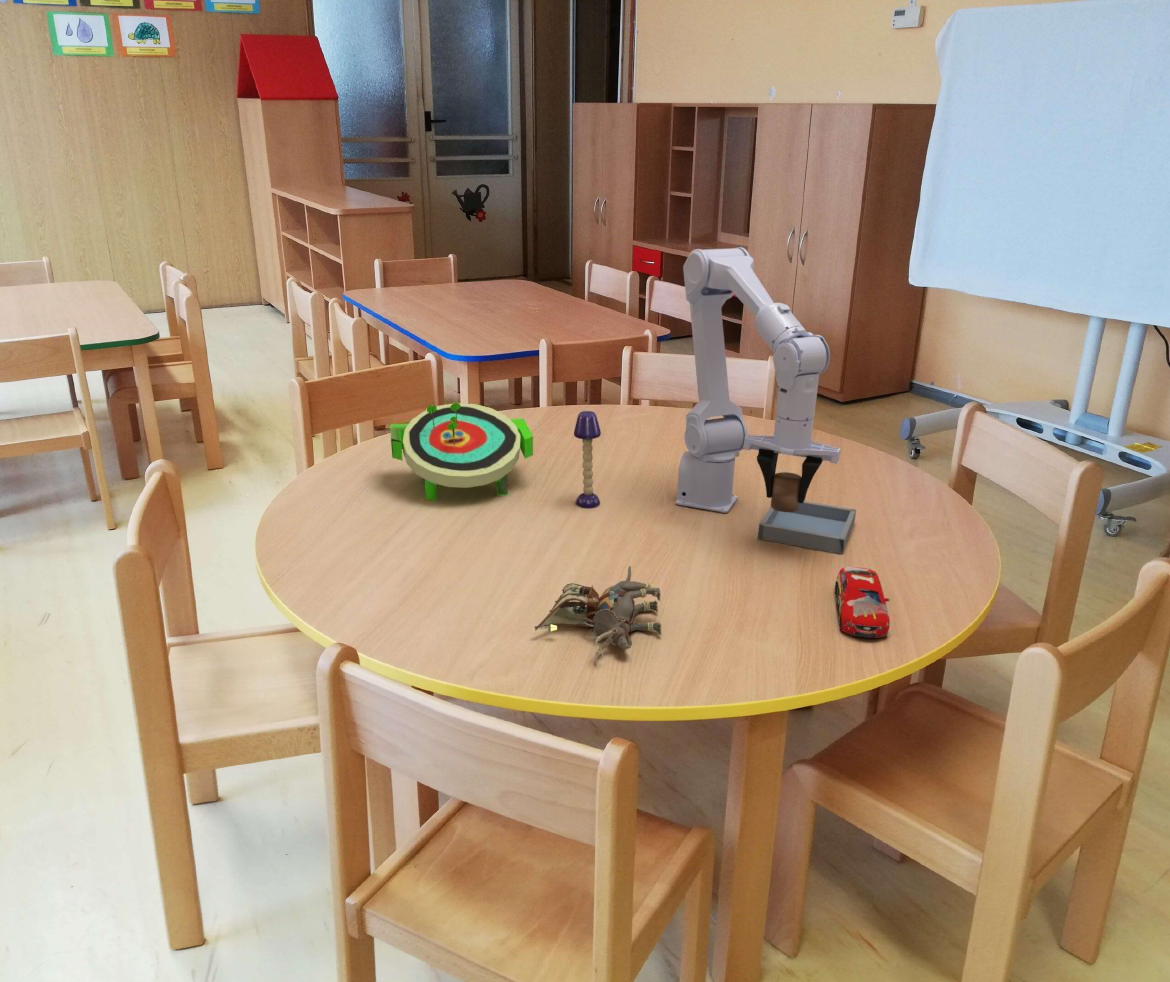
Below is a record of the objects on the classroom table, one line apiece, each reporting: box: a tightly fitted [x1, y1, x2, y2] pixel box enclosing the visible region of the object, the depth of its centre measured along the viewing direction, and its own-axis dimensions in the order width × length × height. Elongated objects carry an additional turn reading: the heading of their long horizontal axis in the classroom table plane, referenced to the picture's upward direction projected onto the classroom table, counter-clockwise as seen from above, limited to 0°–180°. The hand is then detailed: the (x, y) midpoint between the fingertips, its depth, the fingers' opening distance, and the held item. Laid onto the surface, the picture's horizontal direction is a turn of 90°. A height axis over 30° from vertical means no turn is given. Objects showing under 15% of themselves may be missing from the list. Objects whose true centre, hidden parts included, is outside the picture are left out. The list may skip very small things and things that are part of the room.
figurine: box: [534, 565, 662, 664], centre depth 125 cm, size 20×6×17 cm
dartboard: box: [389, 401, 534, 501], centre depth 168 cm, size 25×19×16 cm
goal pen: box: [757, 501, 857, 555], centre depth 156 cm, size 14×14×2 cm
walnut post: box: [770, 471, 802, 512], centre depth 147 cm, size 4×4×5 cm
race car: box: [834, 566, 891, 639], centre depth 130 cm, size 16×7×5 cm, turn 168°
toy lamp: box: [573, 410, 602, 509], centre depth 163 cm, size 5×5×17 cm
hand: (785, 498), depth 148 cm, fingers closed on walnut post, 4 cm apart
